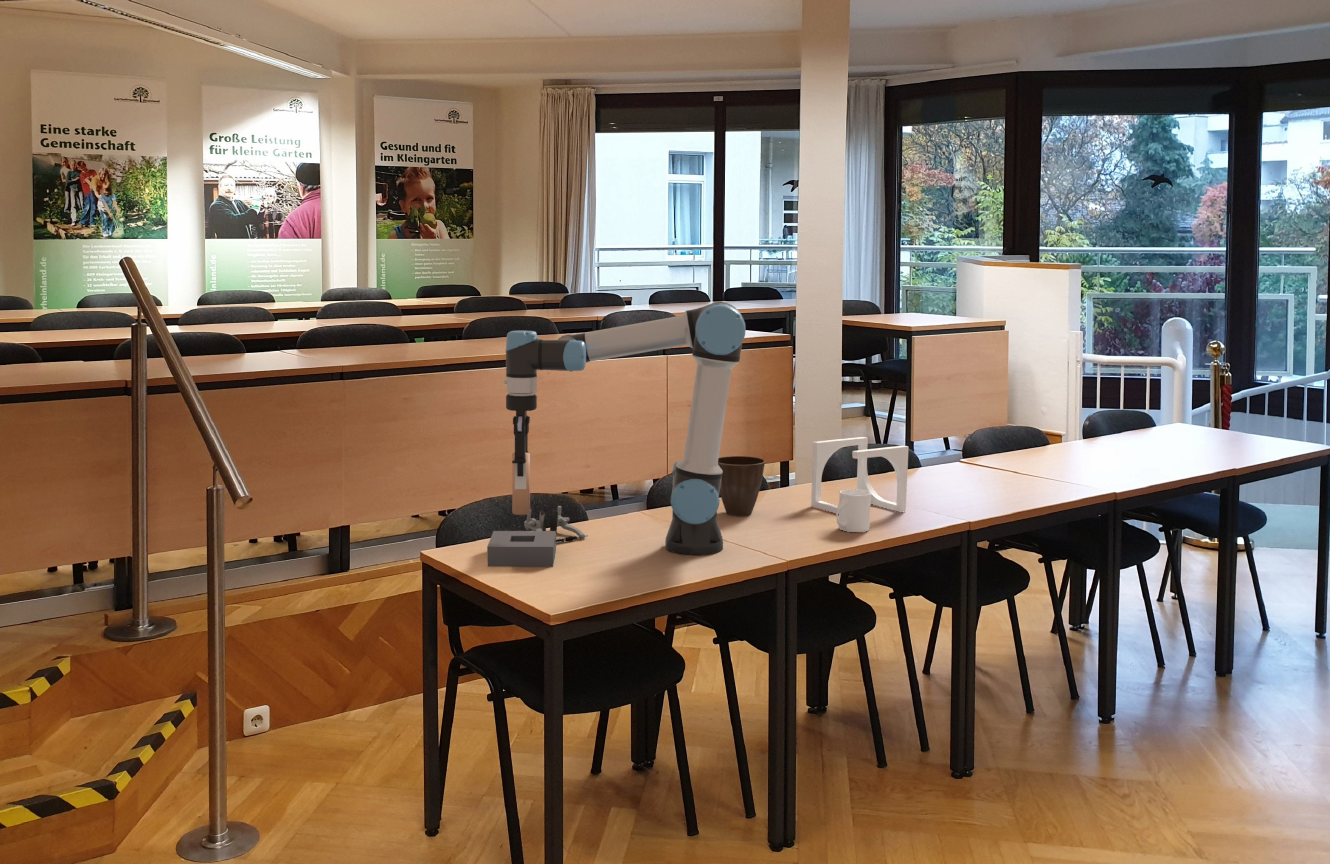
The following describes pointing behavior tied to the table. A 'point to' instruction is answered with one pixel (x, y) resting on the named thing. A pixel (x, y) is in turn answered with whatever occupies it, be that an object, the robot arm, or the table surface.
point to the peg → (521, 491)
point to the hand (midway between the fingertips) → (521, 486)
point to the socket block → (521, 549)
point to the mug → (854, 510)
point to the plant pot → (740, 483)
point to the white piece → (860, 470)
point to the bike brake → (553, 525)
